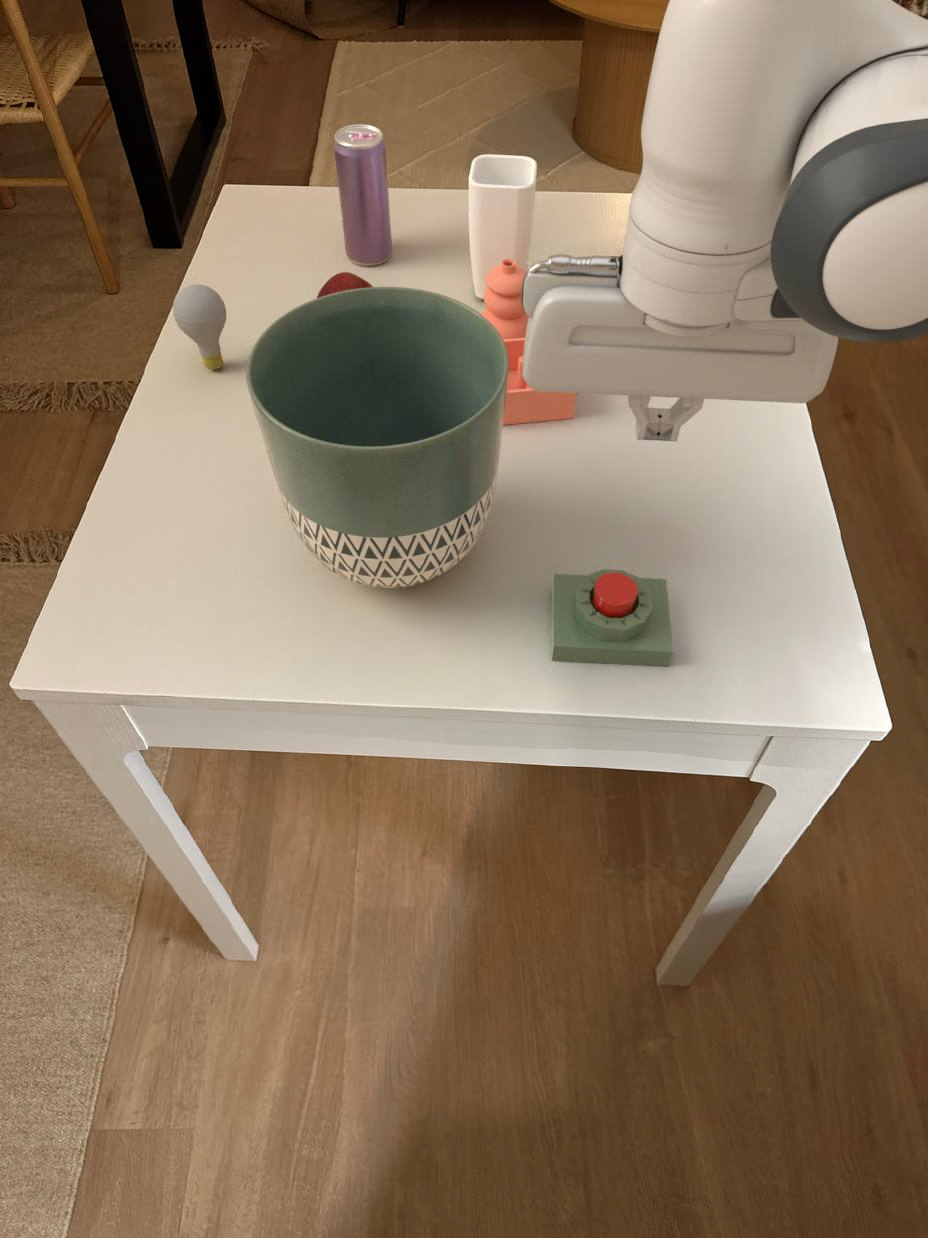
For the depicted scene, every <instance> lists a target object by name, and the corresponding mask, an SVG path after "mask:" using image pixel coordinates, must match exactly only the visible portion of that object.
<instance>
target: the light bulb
mask: <svg viewBox="0 0 928 1238" xmlns="http://www.w3.org/2000/svg"><path fill="white" fill-rule="evenodd" d="M172 313H173V318H174V321H175V323H176V325H177V326H178V328H179V329H180V331H181V332H183V333H184V334H185V335H186V336H187V337H188V338H190V339H191V340H192V341H193V342H194V343H195V345H197V347H198V351H199V354H200V355H201V357H202V362H203V365H204V367H205V368H206V369H208V370H218V369H220V368H222V367H223V365H224V359H223V355H222V352H221V346H220V338H221V335H222V332H223V330H224V328H225V325H226V321H227V308H226V304H225V302H224V299H223V298H222V297H221V295H220V294H219V293H218V292H217V291H216V290H214V289H213V288H211V287H210V286H207V285H206V284H205V285H204V284H199V283H197V284H191V285H188V286H185V287H184V288H181V290H180V291H179V292H178V293H177V295H176V296H175V297H174V301H173V304H172Z"/></svg>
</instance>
